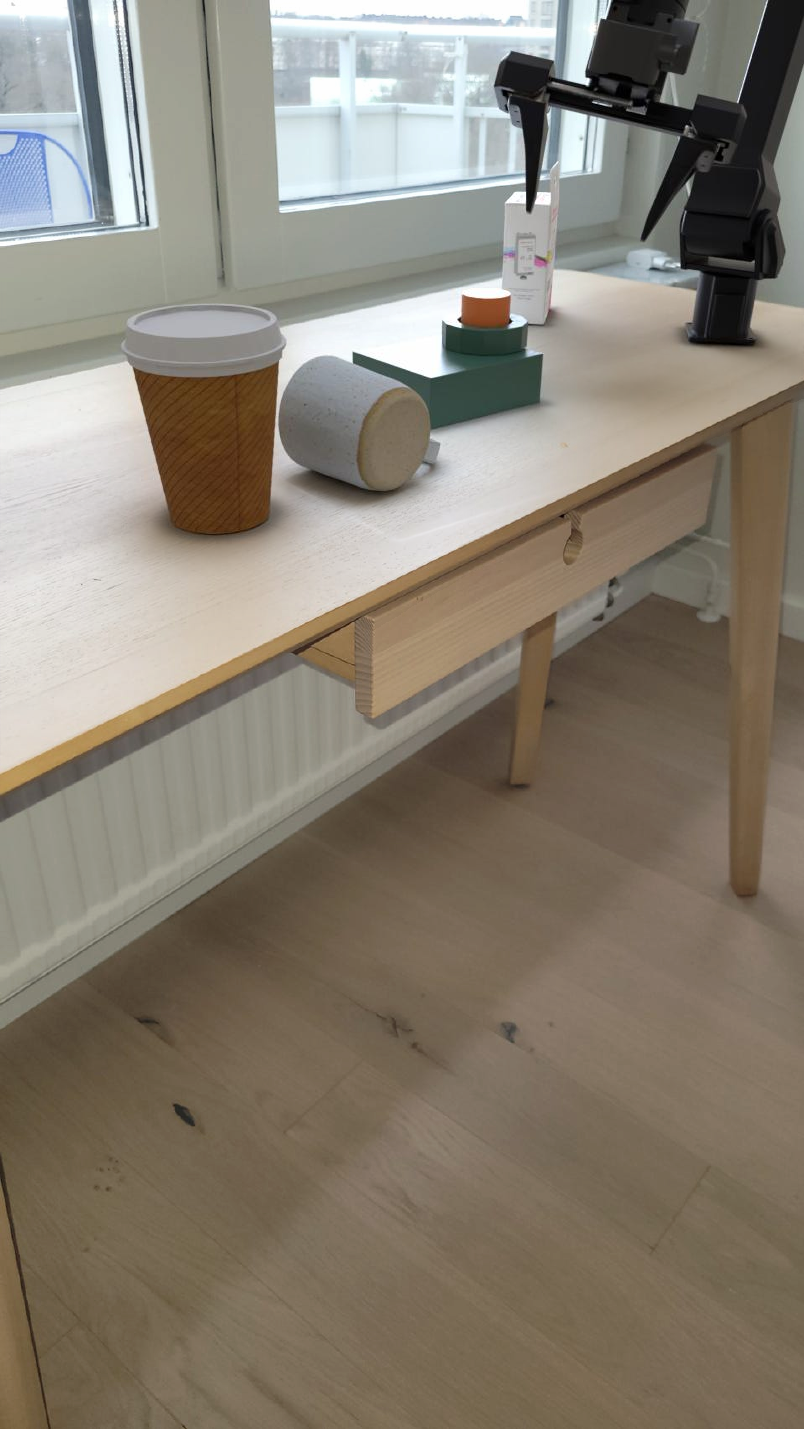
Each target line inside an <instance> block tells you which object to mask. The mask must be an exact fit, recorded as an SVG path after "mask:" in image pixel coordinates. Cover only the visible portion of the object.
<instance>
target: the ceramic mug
mask: <svg viewBox="0 0 804 1429" xmlns="http://www.w3.org/2000/svg"><path fill="white" fill-rule="evenodd" d="M277 426H278V427H277V428H278V433H279V438H280V442H281V445H282V448H283V449H284V452H285V454H286V455H287V456H288V457H289V459H291V461H293V462H294V463H295V464H297V465H299V466H300V467H302V468H306V469H308V470H312V471H314V472H317V473H319V474H322V475H325V476H328V477H331V478H334V479H336V480H340V481H342V482H345V483H348V484H350V485H353V486H356V487H358V488H360V489H364V490H368V491H374V492H375V491H377V492H388V491H392V490H395V489H397V488H400V487H401V486H403V485H404V484H406V483H407V482H408V481H409V480H410V479H411V478H413V476H414V475H416V473H417V471H418V470H419V469H420V466H421V465H422V463H423V462H425V463H428V464H435V463H436V460H437V458H438V456H439V452H440V448H441V443H440V441H438V440H435V439H433V438H431V425H430V417H429V411H428V408H427V406H426V403H425V402H424V400H423V399H422V398H421V397H420V395H419V394H418V393H416V392H415V391H414V390H412V389H411V388H409V387H408V386H406V385H404V384H403V383H401V382H399V381H397V380H394V379H392V378H389V377H386V376H383V375H380V374H378V373H375V372H373V371H370V370H368V369H366V368H363V367H361V366H358V365H356V364H353V362H350V361H349V360H346V359H343V358H341V357H339V356H335V355H328V354H327V355H318V356H316V357H313V358H311V359H309V360H308V361H306V362H305V363H303V364H302V365H301V366H299V367H298V368H297V369H296V371H295V372H294V373H293V374H292V376H291V378H290V379H289V381H288V382H287V384H286V387H285V388H284V391H283V393H282V396H281V399H280V402H279V409H278V420H277Z"/></svg>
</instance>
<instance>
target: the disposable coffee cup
mask: <svg viewBox="0 0 804 1429" xmlns="http://www.w3.org/2000/svg"><path fill="white" fill-rule="evenodd" d="M286 346H287V338H286V336H285V335H284V334H282V332H281V327H280V325H279V322H278V318H277V316H276V315H275V314H274V313H273V312H271V311H270V310H267V309H264V308H260V307H257V306H249V305H242V304H233V303H188V304H180V305H170V306H164V307H158V308H153V309H148V310H145V311H142V312H139V313H136V314H134V315H131V317H129V318H128V319H127V321H126V327H125V338H124V340H123V341H122V342H121V344H120V349H121V351H122V353H123V355H125V356H126V359H127V363H128V364H129V365H130V366H131V367H132V371H133V374H134V379H135V383H136V387H137V391H138V395H139V400H140V403H141V408H142V411H143V415H144V418H145V423H146V426H147V431H148V434H149V438H150V443H151V447H152V452H153V455H154V459H155V463H156V466H157V471H158V474H159V478H160V482H161V486H162V491H163V494H164V498H165V502H166V505H167V510H168V513H169V514H168V515H169V519H170V521H171V522H172V524H173V525H174V526H176V527H178V528H180V529H181V530H185V531H188V532H193V533H197V534H209V535H213V534H214V535H216V534H231V533H236V532H241V531H245V530H249V529H251V528H254V527H257V526H259V525H261V524H263V522H265V521H266V520H267V519H269V517H270V513H271V497H272V495H271V493H272V482H273V478H272V477H273V466H274V464H273V463H274V451H275V450H274V448H275V435H276V434H275V432H276V418H277V406H278V405H277V402H278V401H277V400H278V388H279V387H278V385H279V375H280V374H279V372H280V371H279V369H280V368H279V367H280V360H281V359H283V351H284V350H285V348H286Z"/></svg>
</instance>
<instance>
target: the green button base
mask: <svg viewBox="0 0 804 1429" xmlns="http://www.w3.org/2000/svg"><path fill="white" fill-rule="evenodd" d="M528 333H529V324H528V321H527V320H526V319H525V318H524V317H522V316H519V315H515V314H511V313H510V320H509V325H504V326H498V327H479V326H470V325H466V324H462V323H461V311H460V312H454V313H449V314H448V315H446V316H445V317H443V318H442V319H441V334H436V335H431V336H426V337H420V338H415V339H410V340H405V341H399V342H394V343H389V344H385V345H379V346H374V347H369V348H364V349H359V350H358V349H357V350H354V351H352V353H351V354H352V356H351V357H352V363H353V364H356V365H358V366H361V367H363V368H366V369H368V370H370V371H373V372H375V373H378V374H380V375H383V376H386V377H389V378H392V379H394V380H397V381H399V382H401V383H403V384H404V385H406V386H408V387H409V388H411V389H412V390H414V391H415V392H416V393H418V394H419V395H420V397H421V398H422V399H423V400H424V402H425V403H426V406H427V408H428V411H429V417H430V425H431V430H435V429H439V428H444V427H448V426H452V425H455V424H459V423H463V422H468V421H472V420H475V419H479V418H483V417H487V416H492V415H495V414H499V413H503V412H507V411H510V410H515V409H518V408H523V407H527V406H530V405H534V404H539V403H540V402H541V391H542V390H541V388H542V378H543V377H542V376H543V365H544V364H543V363H544V353H543V352H539V351H536V350H532V349H529V348H526V347H527V346H528V336H529V335H528Z"/></svg>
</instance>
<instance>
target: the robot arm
mask: <svg viewBox="0 0 804 1429" xmlns="http://www.w3.org/2000/svg"><path fill="white" fill-rule="evenodd" d="M689 3H690V0H609V1H608V5H607V8H606V12H605V16H604V18H603V17H601V18H599V22H598V25H597V29H596V34H595V36H594V37H593V41H592V45H591V49H590V52H589V54H588V55H589V56H588V59H587V63H586V67H585V71H584V77H585V79H587V81H586V83H585V84H583V83H579V82H575V81H570V80H568V79H567V80H566V79H562V78H559V77H557V76H556V65H555V60H554V59H549V58H545V57H540V56H535V55H531V54H529V53H528V54H527V53H523V52H518V51H515V50H510V51H509V52H507V54H506V55H504V56H503V57H501V60H500V62H499V64H498V68H497V72H496V76H495V79H494V83H493V90H494V95H495V98H496V102H497V107H498V109H499V110H500V111H502V112H503V113H505V114H509V120H510V122H511V125H512V126H513V127H515V128H517V129H521V130H522V137H523V138H522V139H523V145H524V146H523V147H524V161H525V162H524V170H525V171H524V172H525V175H524V178H525V179H524V180H525V187H524V188H525V192H526V213H527V214H531V213H532V210H533V207H534V204H535V201H536V197H537V193H538V192H539V187H540V181H541V176H542V168H543V164H544V163H543V162H544V158H545V152H546V146H547V140H548V133H549V130H550V129H549V128H550V127H549V120H548V114H550V111H551V108H556V109H560V110H564V111H569V112H572V113H577V114H582V115H585V116H590V117H595V118H598V119H602V120H608V121H610V122H615V123H619V124H624V125H628V126H632V127H637V128H640V129H644V130H649V131H653V132H657V133H661V134H666V135H669V136H675V137H679V139H678V141H677V145H676V146H675V148H674V151H673V154H672V157H671V159H670V161H669V164H668V166H667V169H666V172H665V173H664V176H663V178H662V180H661V182H660V185H659V188H658V190H657V191H656V195H655V197H654V199H653V201H652V204H651V206H650V208H649V211H648V213H647V216H646V218H645V220H644V224H643V228H642V231H641V235H640V238H639V242H640V243H646V241H647V240H648V238H649V236H650V235H651V233H652V232H653V230H654V229H655V227H656V226H657V224H658V223H659V221H660V219H661V218H662V216H663V215H664V214H665V212H666V210H667V209H668V207H669V206H670V204H671V203H672V202H673V200H674V198H675V197H676V196H677V194H678V193H680V191H681V190H682V189H683V188H684V186H685V185H686V184H687V183H688V182H689V180H690V179H691V178H692V177H693V180H692V185H691V189H690V193H689V195H688V197H687V200H686V203H685V205H684V206H683V211H682V213H681V217H680V220H679V229H678V230H679V231H678V232H679V263H680V270H683V271H687V270H689V271H696V272H697V271H698V280H697V287H696V294H695V300H694V307H693V314H692V319H691V320H692V321H690V322H685V324H684V330H685V334H686V337H687V339H688V341H689V342H694V343H695V342H696V343H697V342H698V343H720V344H743V345H755V344H756V343H757V337H756V335H755V333H754V332H753V330H752V327H751V324H752V318H753V312H754V306H755V301H756V296H757V289H758V284H759V281H763V280H775V279H778V276H779V275H780V272H781V270H782V267H783V265H784V259H785V256H786V252H787V250H786V246H785V242H784V237H783V233H782V229H781V224H780V221H779V216H778V213H779V209H780V204H781V199H782V197H781V193H780V188H779V184H778V179H777V176H776V172H775V167H774V165H775V161H776V157H777V154H778V151H779V147H780V144H781V141H782V138H783V135H784V131H785V128H786V125H787V122H788V119H789V115H790V111H791V108H792V106H793V102H794V99H795V95H796V92H797V88H798V86H799V82H800V79H801V75H802V72H803V69H804V0H766V3H765V5H764V10H763V13H762V15H761V19H760V23H759V27H758V30H757V34H756V37H755V41H754V44H753V47H752V51H751V54H750V58H749V61H748V64H747V68H746V71H745V75H744V78H743V81H742V85H741V88H740V91H739V95H738V99H737V102H734V101H731V100H727V99H722V98H719V97H715V96H714V97H713V96H709V95H705V94H701V93H697V95H696V98H695V100H694V101H695V102H694V104H693V108H692V109H691V108H688V107H687V108H686V107H683V106H678V105H674V104H671V103H670V104H669V103H666V102H661V100H662V99H661V98H662V95H663V91H664V88H665V85H666V81H667V79H668V75H669V73H671V74H674V75H675V74H676V75H680V76H684V75H686V74H687V72H688V68H689V65H690V61H691V58H692V54H693V50H694V47H695V43H696V40H697V37H698V33H699V29H700V26H701V23H699V22H695V21H690V20H685V16H686V13H687V10H688V6H689Z"/></svg>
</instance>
